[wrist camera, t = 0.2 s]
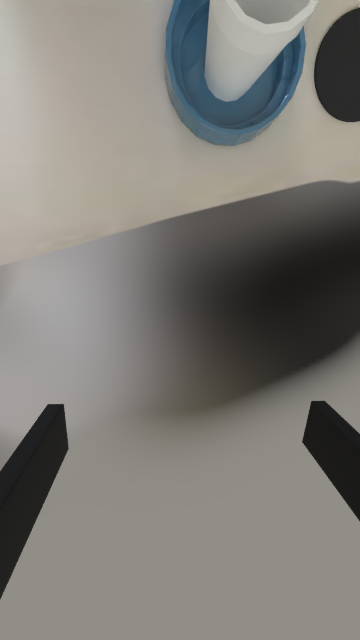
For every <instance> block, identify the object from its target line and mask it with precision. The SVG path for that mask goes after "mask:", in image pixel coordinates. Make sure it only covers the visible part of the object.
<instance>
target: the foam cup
mask: <svg viewBox="0 0 360 640" xmlns="http://www.w3.org/2000/svg"><path fill="white" fill-rule="evenodd" d="M318 1H319V0H210V6H209V19H208V32H207V46H206V59H205V74H204V76H205V79H206V83H207V86H208V89H209V90H210V91H211V92H212V94H213V95H214V96H215V97H216V98H218V99H220V100H223V101H225V102H228V101H235V100H237V99H239V98H240V97H241V96H243V95H244V94H245V93H246V92H247V91H248V90H249V89H250V87H251V86H252V85H253V84H254V83H255V82H256V80H257V79H258V78H259V77H260V76H261V74H262V73H263V72H264V71H265V70H266V69H267V67H268V66H269V65H270V64H271V63H272V61H273V60H274V59H275V58H276V57H277V56H278V54H279V53H280V52H281V51H282V50H283V48H284V47H285V46H286V45H287V44H288V43H289V42H290V41H292V40H293V39H294V38H295V37H297V35H298V34H299V32H300V31H301V29H302V27H303V26H304V24H305V23H306V21H307V20H308V18H309V17H310V15H311V13H312V12H313V10H314V8H315V6H316V4H317V3H318Z"/></svg>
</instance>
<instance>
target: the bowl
mask: <svg viewBox="0 0 360 640" xmlns="http://www.w3.org/2000/svg"><path fill="white" fill-rule="evenodd" d="M209 6H210V0H174V3H173V7H172V10H171V14H170V17H169V21H168V25H167V28H166V52H165V79H166V83H167V88H168V92H169V96H170V100H171V103H172V105H173V106H174V108H175V110H176V112H177V114H178V115H179V117H180V119H181V121H182V122H183V123H184V124H185V125H186V126H187V127H188V128H189V129H190V130H191V131H192V132H193V133H194V134H195V135H196V136H198V137H200V138H202V139H204V140H206V141H208V142H210V143H212V144H216V145H229V146H234V145H237V144H241V143H244V142H247V141H250V140H252V139H253V138H255V137H256V136H257V135H259V134H260V133H262V132H263V131H264V130H266V129H267V128H268V127H269V126H270V124H271V123H272V122H273V121H274V120H275V119H276V118H277V117H278V115H279V114H280V113H281V111H282V110H283V109H284V107H285V106H286V105H287V103H288V102H289V101H290V99H291V98H292V96H293V94H294V91H295V89H296V86H297V84H298V81H299V79H300V76H301V74H302V69H303V61H304V54H305V47H306V46H305V45H306V43H305V33H304V26H303V27H302V29H301V31H300V32H299V34H298V35H297V37H295V38H294V39H293V40H292V41H290V42H289V43H288V44H287V45H286V46H285V47H284V48H283V50H282V51H281V52H280V53H279V54H278V56H277V57H276V58H275V59H274V60H273V61H272V63H271V64H270V65H269V66H268V67H267V69H266V70H265V71H264V72H263V73H262V74H261V76H260V77H259V78H258V79H257V80H256V82H255V83H254V84H253V85H252V86H251V87H250V89H249V90H248V91H247V92H246V93H245V94H244V95H243V96H241V97H240V98H239V99H237V100H235V101H228V102H225V101H223V100H220V99H218V98H216V97H215V96H214V95H213V94H212V92H211V91H210V90H209V89H208V86H207V83H206V79H205V76H204V74H205V59H206V46H207V32H208V19H209Z"/></svg>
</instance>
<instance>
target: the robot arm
mask: <svg viewBox="0 0 360 640" xmlns="http://www.w3.org/2000/svg"><path fill="white" fill-rule="evenodd" d="M302 442H303V444H304V445H305V446H306V448H307V449H308V451H309V452H310V453H311V455H312V456H313V457H314V459H315V460H316V462H317V463H318V464H319V466H320V467H321V468H322V470H323V471H324V473H325V474H326V475H327V477H328V478H329V479H330V481H331V482H332V484H333V485H334V486H335V488H336V489H337V490H338V492H339V493H340V495H341V496H342V497H343V499H344V500H345V501H346V503H347V504H348V506H349V507H350V508H351V510H352V511H353V513H354V514H355V515H356V516H357V518H358V519H359V521H360V434H359V433H358V432H357V431H356V430H355V429H354V428H353V427H352V426H351V425H350V424H349V423H348V422H347V421H345V420H344V419H343V418H342V417H341V416H340V415H339V414H338V413H337V412H336V411H335V410H334V409H333V408H332V407H331V406H330V405H328V404H327V403H326V402H325V401H312V402H311V405H310V410H309V414H308V419H307V423H306V428H305V432H304V437H303V441H302ZM67 451H68V439H67V431H66V421H65V412H64V405H63V404H48V405H47V406H46V408H45V409H44V410H43V412H42V413H41V415H40V416H39V417H38V419H37V421H36V422H35V423H34V425H33V426H32V427H31V429H30V430H29V432H28V433H27V434H26V436H25V437H24V439H23V440H22V442H21V443H20V444H19V446H18V447H17V449H16V450H15V451H14V453H13V454H12V456H11V457H10V458H9V460H8V461H7V463H6V464H5V466H4V467H3V468H2V470H1V471H0V599H1V597H2V594H3V592H4V590H5V588H6V585H7V583H8V581H9V579H10V577H11V575H12V572H13V570H14V568H15V566H16V563H17V561H18V559H19V557H20V555H21V552H22V550H23V548H24V546H25V544H26V541H27V539H28V537H29V535H30V533H31V530H32V528H33V526H34V524H35V522H36V519H37V517H38V515H39V513H40V510H41V508H42V506H43V504H44V502H45V499H46V497H47V495H48V492H49V491H50V488H51V486H52V484H53V482H54V479H55V477H56V475H57V473H58V471H59V468H60V466H61V464H62V462H63V460H64V457H65V455H66V453H67Z"/></svg>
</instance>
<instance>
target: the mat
mask: <svg viewBox="0 0 360 640" xmlns="http://www.w3.org/2000/svg"><path fill="white" fill-rule="evenodd" d="M315 87H316V92H317V95H318V98H319V100H320V102H321V104H322V106H323V107H324V108H325V110H326V111H327V112H328V113H329V114H330V115H332V116H333V117H334V118H336V119H338V120H341V121H345V122H356V121H360V8H358V9H355V10H352V11H350V12H348V13H347V14H345V15H344V16H342V17H341V18H340V19H339V20H338V21H336V23H335V24H334V25H333V26H332V27H331V28H330V30H329V31H328V33H327V34H326V36H325V38H324V39H323V41H322V43H321V46H320V48H319V51H318V54H317V58H316V63H315Z"/></svg>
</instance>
